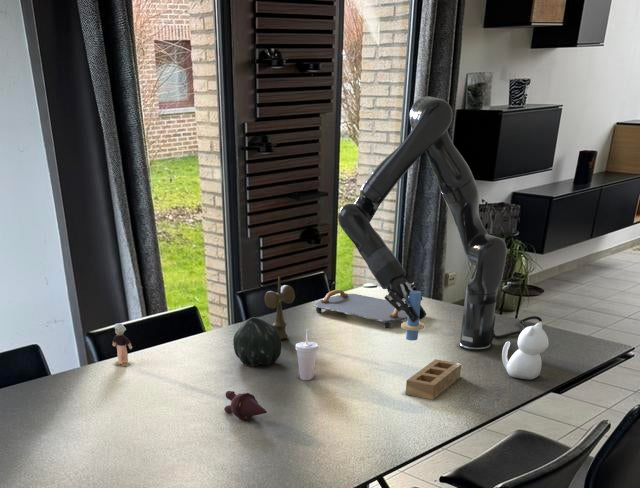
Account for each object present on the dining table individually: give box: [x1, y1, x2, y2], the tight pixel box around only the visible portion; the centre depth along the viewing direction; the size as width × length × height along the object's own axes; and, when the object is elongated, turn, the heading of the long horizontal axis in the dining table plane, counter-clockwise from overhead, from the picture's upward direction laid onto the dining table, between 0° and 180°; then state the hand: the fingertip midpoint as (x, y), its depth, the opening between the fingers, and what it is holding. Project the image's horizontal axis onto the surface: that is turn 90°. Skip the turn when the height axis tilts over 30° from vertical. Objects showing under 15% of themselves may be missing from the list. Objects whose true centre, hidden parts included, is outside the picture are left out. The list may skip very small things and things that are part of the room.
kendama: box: [264, 276, 296, 341], centre depth 238 cm, size 6×10×20 cm, turn 141°
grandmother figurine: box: [112, 323, 133, 367], centre depth 221 cm, size 8×4×13 cm, turn 68°
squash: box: [232, 316, 283, 367], centre depth 219 cm, size 14×15×15 cm
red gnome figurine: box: [223, 390, 268, 421], centre depth 184 cm, size 7×7×15 cm
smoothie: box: [295, 328, 319, 381], centre depth 206 cm, size 6×6×14 cm
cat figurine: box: [501, 321, 550, 381], centre depth 203 cm, size 9×12×15 cm
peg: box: [400, 291, 426, 341], centre depth 202 cm, size 6×6×13 cm
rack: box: [405, 358, 462, 401], centre depth 201 cm, size 20×8×4 cm, turn 146°
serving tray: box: [313, 289, 408, 329], centre depth 264 cm, size 39×23×6 cm, turn 45°
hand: (419, 318), depth 201 cm, fingers closed on peg, 3 cm apart
